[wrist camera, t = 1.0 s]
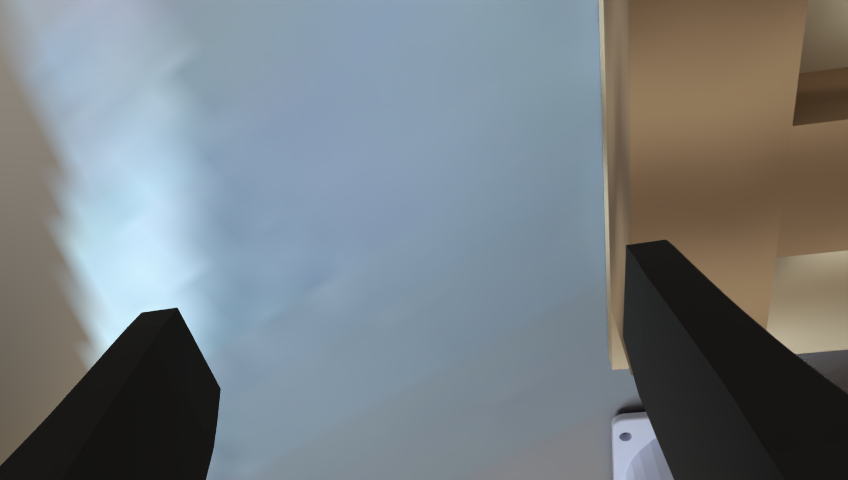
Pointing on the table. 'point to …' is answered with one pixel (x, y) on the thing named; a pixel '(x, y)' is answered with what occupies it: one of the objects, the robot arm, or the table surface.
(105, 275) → the table surface
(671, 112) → the t block
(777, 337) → the board
